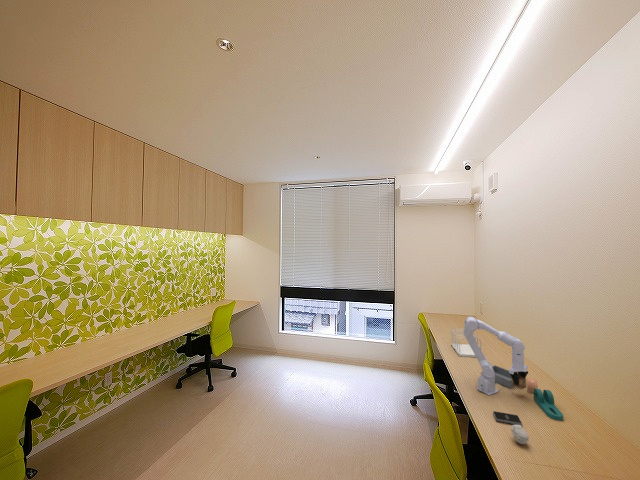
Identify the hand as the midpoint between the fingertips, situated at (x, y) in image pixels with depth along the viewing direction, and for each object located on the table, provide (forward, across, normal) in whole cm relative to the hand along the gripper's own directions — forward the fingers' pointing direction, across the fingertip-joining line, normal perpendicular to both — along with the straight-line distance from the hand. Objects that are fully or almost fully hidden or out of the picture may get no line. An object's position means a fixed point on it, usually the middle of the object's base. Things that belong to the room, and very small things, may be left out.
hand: (519, 383), depth 155 cm
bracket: (+8, -1, -15) cm, 17 cm away
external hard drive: (+8, -29, -10) cm, 32 cm away
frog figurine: (+7, -40, -22) cm, 46 cm away
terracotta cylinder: (+7, +11, -1) cm, 13 cm away
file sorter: (+8, +33, +59) cm, 69 cm away
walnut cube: (+2, 0, 0) cm, 2 cm away
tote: (+7, +10, +16) cm, 20 cm away
